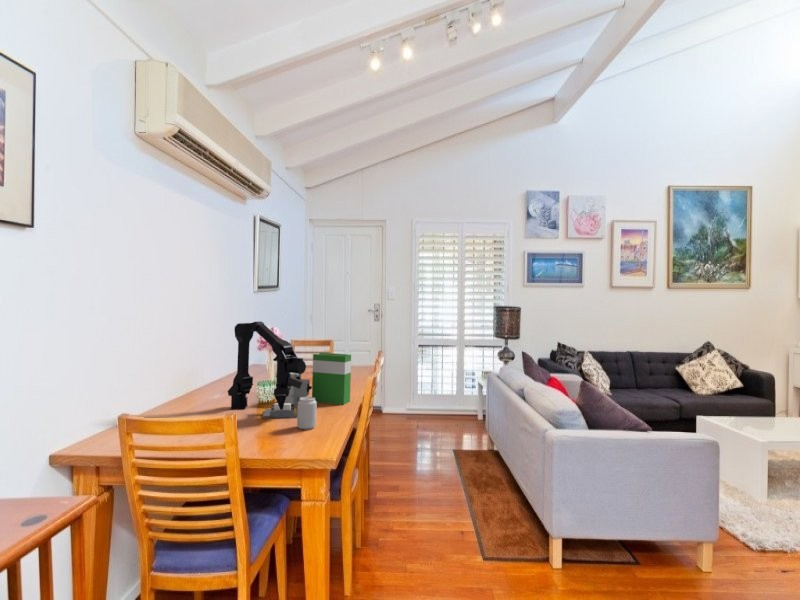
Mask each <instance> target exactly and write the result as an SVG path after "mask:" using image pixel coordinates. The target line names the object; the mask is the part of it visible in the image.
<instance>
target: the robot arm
mask: <svg viewBox="0 0 800 600" xmlns="http://www.w3.org/2000/svg"><path fill="white" fill-rule="evenodd" d="M255 333H257V334H258V335H259V336H260V337H261V338H262V339H263V340H265V341H266V342H267V343H268V344H269V345H270V346H271V350H272V352H273V353H274V354H275V355H276V356H275V357H274V358H273V359H272V361H274V362H276V374H275V378H276V381H275V382H276V383H275V388H274V389H273V396H274V398H275V401H276V403H278V405H279V408H280V410H283V407H284V403H285V400H286V397H287V396H288V395H289V390H290V389H291V388H288V387H291V386H294V387H297V388H298V389H300V388H301V385H302V383H303V381H302V380H301V379H302V377H301V378H300V376H296V377H291V374H290V373H298V374H301V375H302V374H304V373H305V371H306V370H307V369H306V368H307V365H306V361H304V358H303V357H298V355H297V353H296V351H295V349H294V348H293V347H294V346H293V345H292V343H290V342H288V341H287V340H284V339H282V338H280V337H279V336H278V335H277V334H276V333H274V332H273V331H272V330H271V329H270V328H269V327H268V326H267V325H266V324H265V323H264V322H263V321H262V320H261V321H253V322H240V323H236V325H235V326H234V337H235V339H236V341H237V343H238V344H237V368H236V369H237V370H236V371H237V372H236V375H235V376H234V378H233V381H232V386H230V388H229V389H227V394H228V396H230V397H231V399H230V400H231V403H230V410H245V409H246V408H247V407H248V401H249V400H248V399H249V397H248V396H247V394H250V392H251V390H252V388H253V385H254V384H253V383H254V376H251V375H250V373H249V371H250V370H249V369H250V367H249V364H250V342H251V340H252V339H253V337H254V334H255Z"/></svg>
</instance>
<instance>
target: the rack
mask: <svg viewBox="0 0 800 600" xmlns="http://www.w3.org/2000/svg"><path fill="white" fill-rule="evenodd" d="M274 404H275V403H272V405H271V406H272V407H271V408H265V410H264V411H263V413H262V419H290V418H291V419H295V418H296V419H297V412H298V407H296V405H295V404H291V410H274Z"/></svg>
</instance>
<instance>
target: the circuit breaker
mask: <svg viewBox="0 0 800 600" xmlns="http://www.w3.org/2000/svg"><path fill="white" fill-rule="evenodd" d="M290 374H291V377H296V376H300V378H301V380H302V381H303V383H302V385H301V388H300V389H298V388H297V387H294V386H291V387H288V388H291V389H290V390H289V395H288V396H287V397H286V400H285V403H291V404H295V406H298V402H299V400H300V398H302V397H309V395H310V390H311V391H312V385H310V381H311V379H305V378H302V374H298V373H290Z"/></svg>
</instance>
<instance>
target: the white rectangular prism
mask: <svg viewBox="0 0 800 600" xmlns="http://www.w3.org/2000/svg"><path fill="white" fill-rule="evenodd" d="M273 404H274V410H280V408H279V405H278V403H277V402H275V403H273ZM283 410H291V403H284V407H283Z"/></svg>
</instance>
